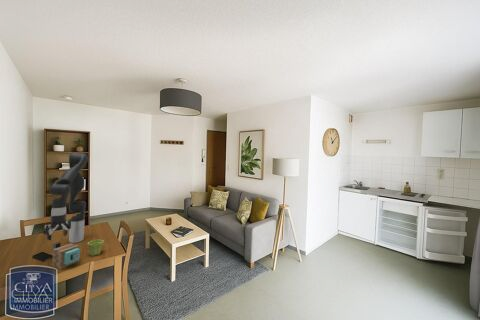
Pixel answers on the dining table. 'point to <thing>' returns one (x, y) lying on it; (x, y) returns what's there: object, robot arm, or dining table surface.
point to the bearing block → (62, 255)
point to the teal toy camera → (68, 256)
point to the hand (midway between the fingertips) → (57, 237)
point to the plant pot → (95, 247)
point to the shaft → (57, 244)
